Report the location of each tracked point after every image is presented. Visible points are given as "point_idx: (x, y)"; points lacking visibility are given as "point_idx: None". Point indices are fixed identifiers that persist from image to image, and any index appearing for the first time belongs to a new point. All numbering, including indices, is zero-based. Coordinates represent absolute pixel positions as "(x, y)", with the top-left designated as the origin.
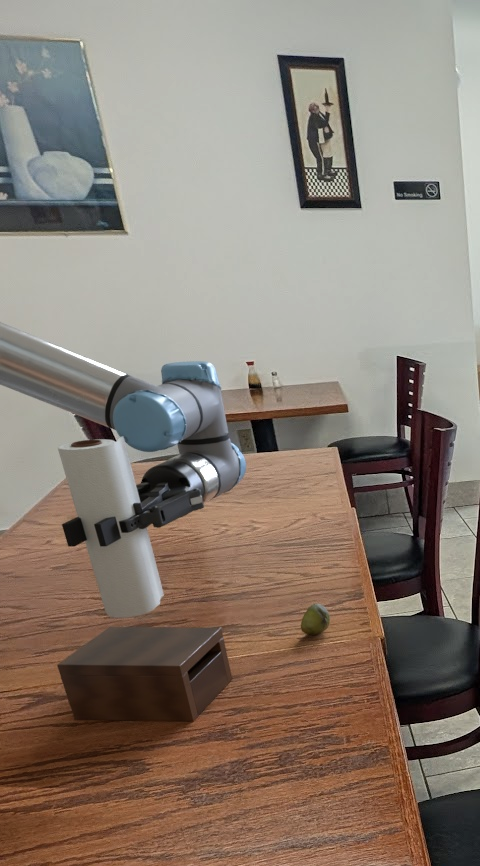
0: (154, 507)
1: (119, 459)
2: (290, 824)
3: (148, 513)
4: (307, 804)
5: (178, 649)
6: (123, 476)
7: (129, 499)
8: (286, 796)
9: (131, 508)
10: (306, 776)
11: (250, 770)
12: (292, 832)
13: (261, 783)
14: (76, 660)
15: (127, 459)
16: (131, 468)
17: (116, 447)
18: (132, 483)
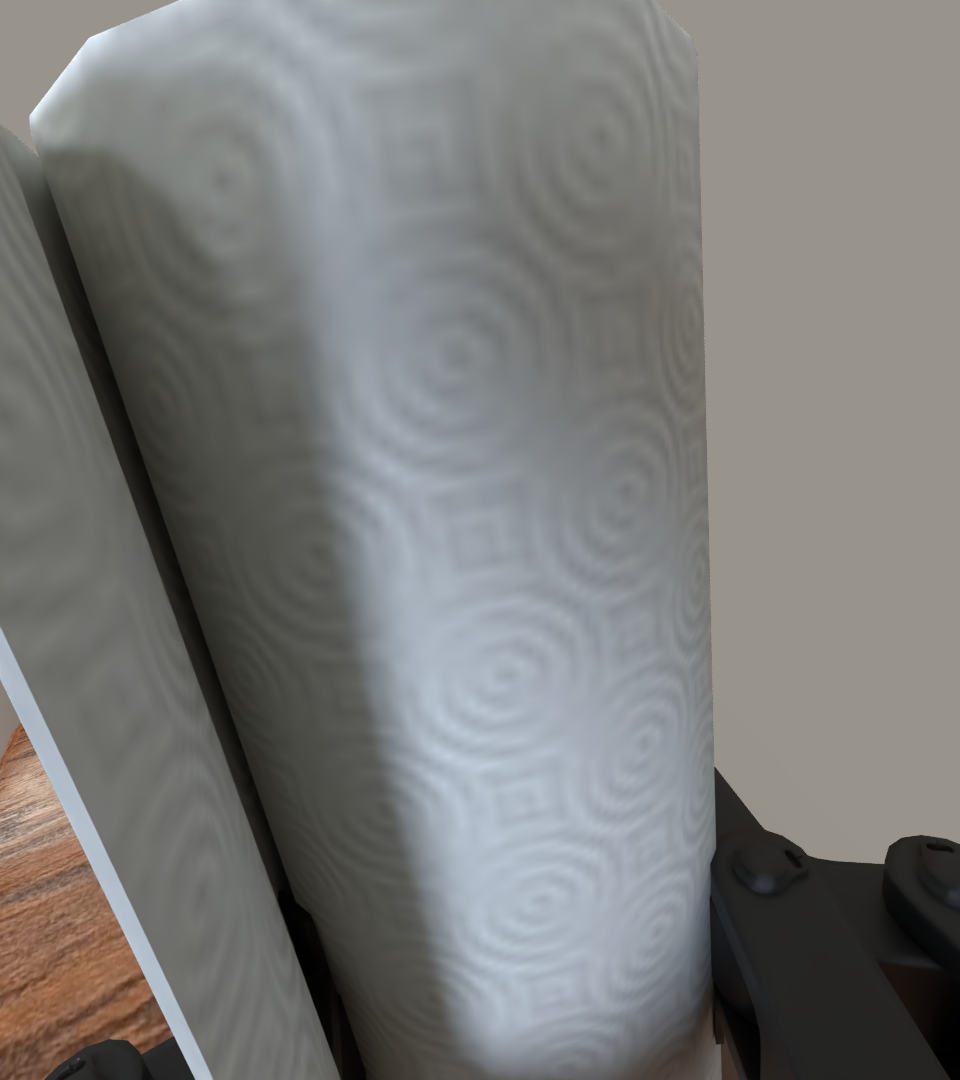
0: (63, 1077)
1: (119, 406)
2: (94, 900)
3: (171, 1046)
4: (56, 953)
5: None
6: (189, 599)
7: (260, 805)
8: (90, 963)
9: (283, 867)
10: (37, 1039)
11: (158, 1027)
12: (94, 886)
13: (136, 989)
14: (727, 1074)
15: (58, 598)
16: (116, 881)
17: (58, 237)
18: (265, 1016)
